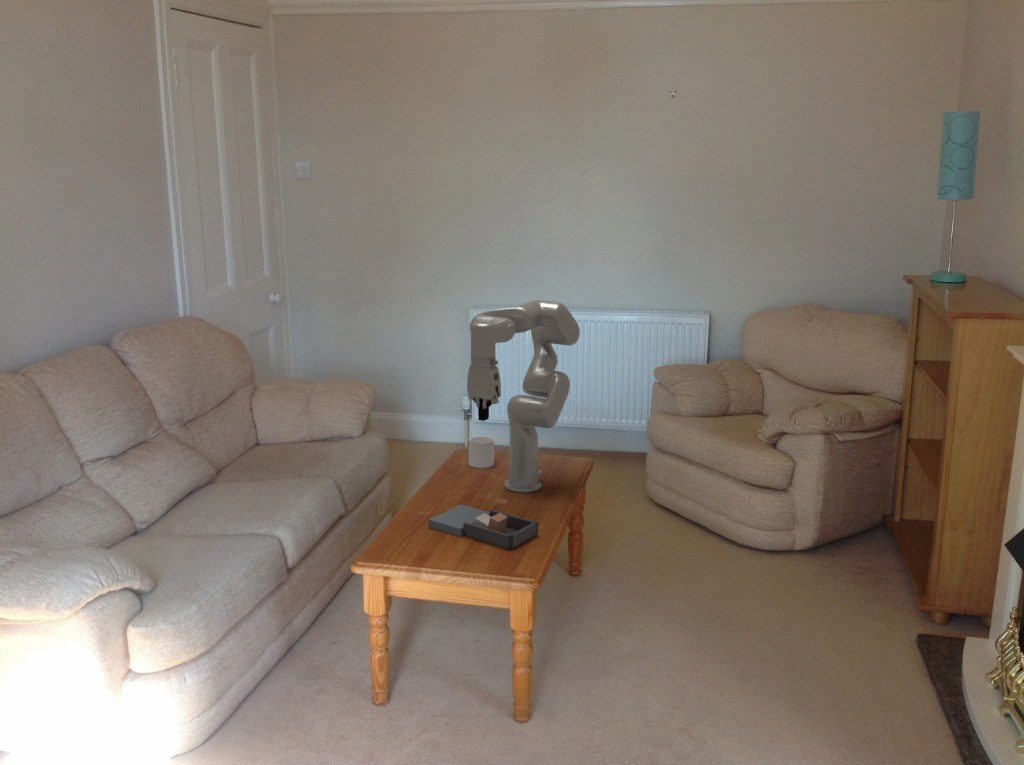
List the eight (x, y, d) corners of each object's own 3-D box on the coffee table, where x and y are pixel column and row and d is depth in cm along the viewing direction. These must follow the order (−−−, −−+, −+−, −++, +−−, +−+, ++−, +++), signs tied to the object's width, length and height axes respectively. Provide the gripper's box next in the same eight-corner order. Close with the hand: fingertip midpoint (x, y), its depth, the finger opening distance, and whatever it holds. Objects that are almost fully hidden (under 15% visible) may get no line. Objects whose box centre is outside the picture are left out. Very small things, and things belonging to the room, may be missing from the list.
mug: (492, 469, 344) (492, 444, 341) (466, 467, 344) (467, 442, 342) (496, 458, 355) (496, 434, 353) (471, 457, 356) (471, 433, 354)
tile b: (499, 512, 285) (507, 517, 284) (496, 527, 287) (504, 531, 286) (489, 517, 281) (498, 522, 280) (486, 532, 283) (494, 536, 282)
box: (491, 521, 294) (491, 509, 293) (537, 535, 285) (538, 522, 284) (463, 535, 283) (463, 523, 282) (510, 550, 273) (511, 536, 273)
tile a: (482, 521, 290) (484, 513, 289) (495, 529, 287) (498, 520, 286) (472, 526, 286) (474, 518, 285) (486, 534, 283) (488, 525, 282)
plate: (461, 512, 302) (461, 504, 301) (492, 520, 295) (492, 513, 294) (428, 527, 289) (428, 519, 288) (460, 536, 282) (460, 528, 282)
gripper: (510, 362, 291) (510, 420, 296) (471, 356, 300) (471, 412, 305) (495, 368, 286) (496, 427, 290) (456, 361, 294) (457, 418, 299)
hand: (483, 419), depth 297 cm, fingers closed
